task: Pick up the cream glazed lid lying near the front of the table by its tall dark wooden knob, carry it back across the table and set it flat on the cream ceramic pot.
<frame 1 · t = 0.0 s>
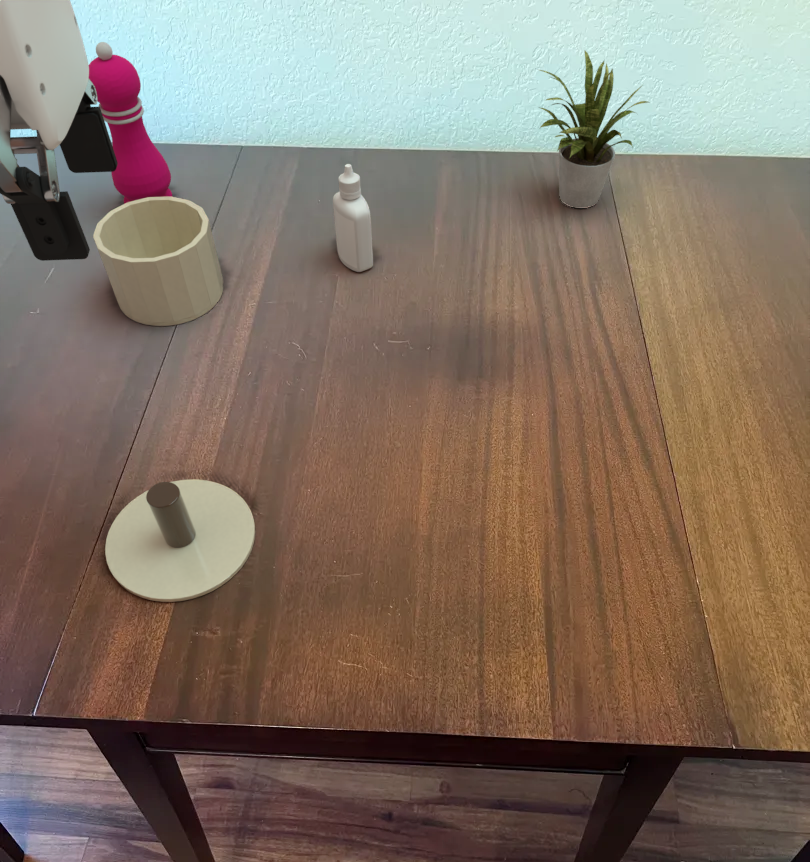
hand: (80, 211, 50), 30 cm above the table, tool pointing down, fingers open, 9 cm apart
pepper mill: (151, 210, 104), on the table
lid: (181, 539, 71), point 1 cm above the table
pot: (171, 292, 93), on the table
eye dropper bottle: (355, 261, 96), on the table
house plant: (571, 194, 104), on the table
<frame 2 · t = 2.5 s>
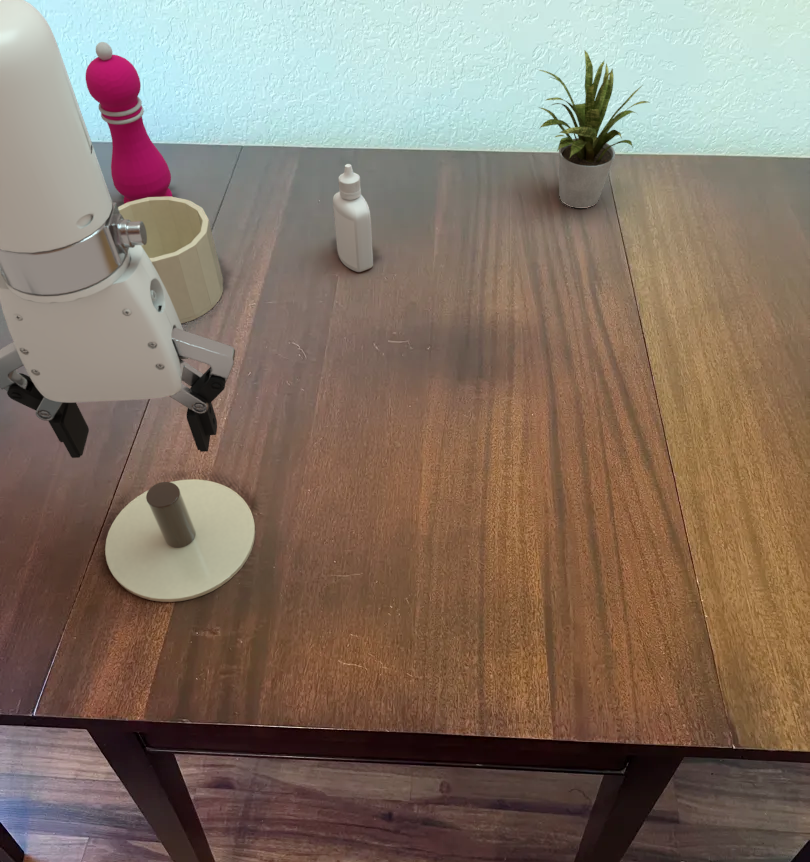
hand: (143, 441, 60), 14 cm above the table, tool pointing down, fingers open, 9 cm apart
nothing on the table moved.
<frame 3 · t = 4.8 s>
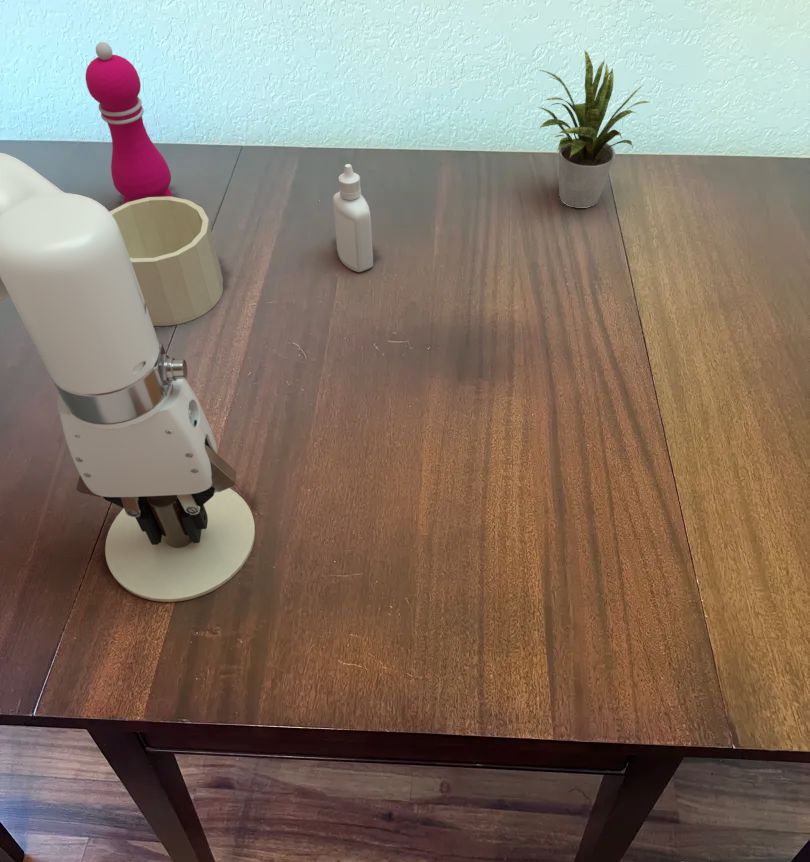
hand: (177, 529, 70), 2 cm above the table, tool pointing down, fingers closed on lid, 2 cm apart
lid: (181, 539, 71), point 1 cm above the table, touching gripper
everything else where it was.
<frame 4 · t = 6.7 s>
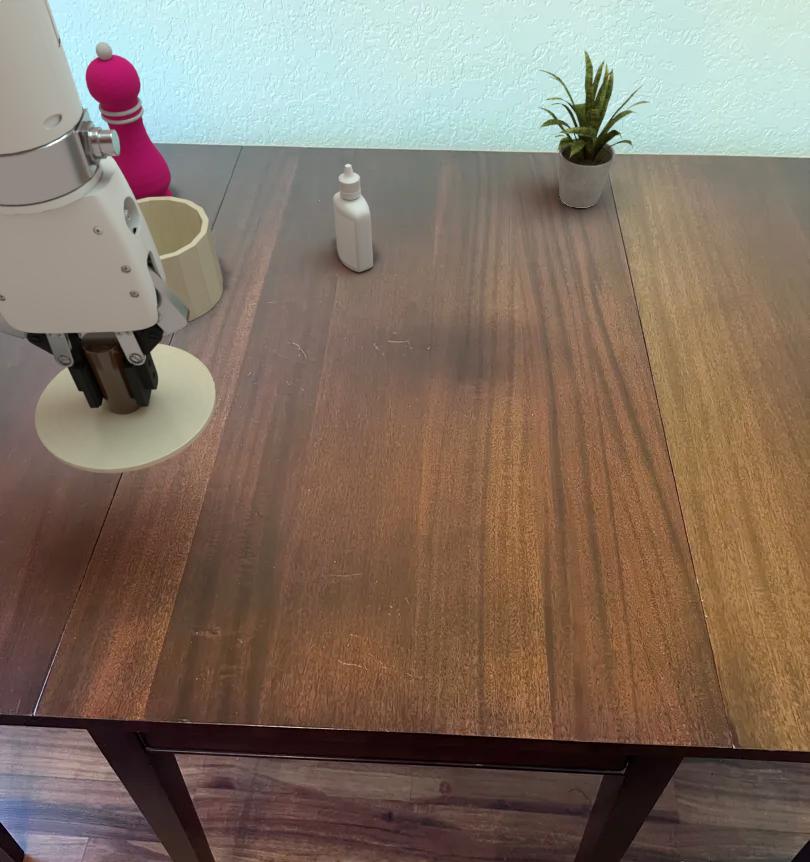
hand: (122, 392, 58), 17 cm above the table, tool pointing down, fingers closed on lid, 2 cm apart
lid: (128, 406, 59), point 16 cm above the table, touching gripper
everything else where it was.
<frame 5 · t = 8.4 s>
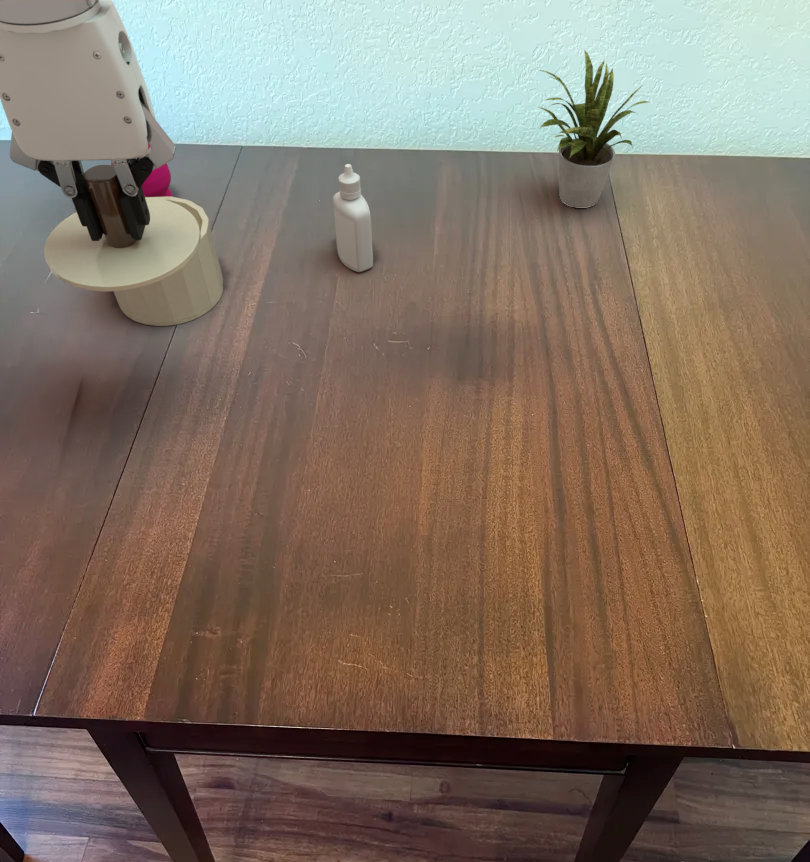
hand: (119, 229, 68), 19 cm above the table, tool pointing down, fingers closed on lid, 2 cm apart
lid: (124, 244, 69), point 18 cm above the table, touching gripper
everything else where it was.
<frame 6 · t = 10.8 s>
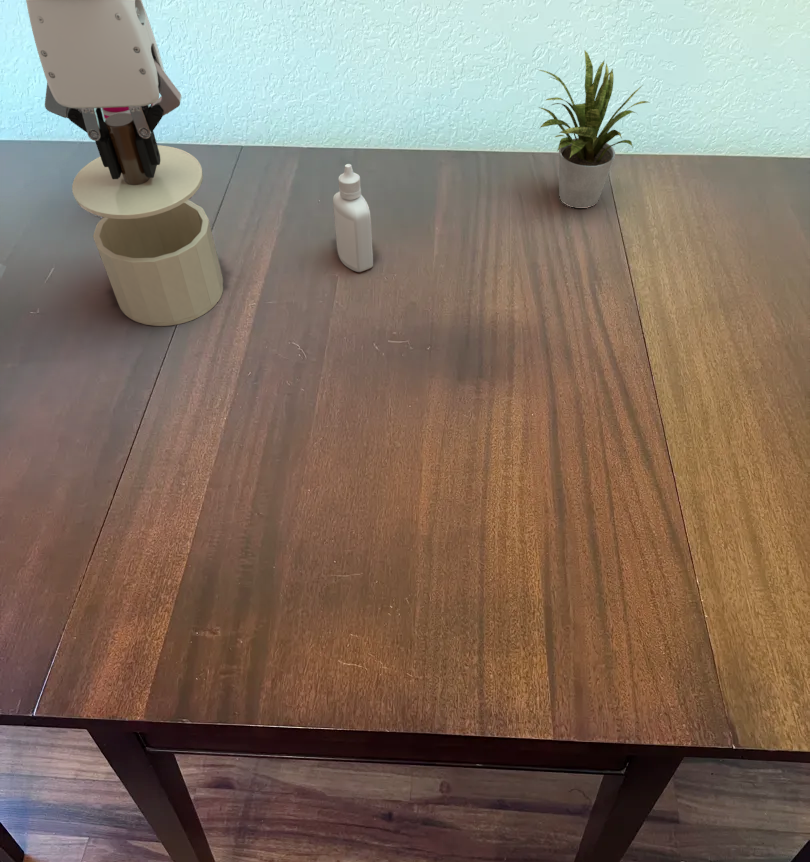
hand: (134, 170, 81), 15 cm above the table, tool pointing down, fingers closed on lid, 2 cm apart
lid: (138, 182, 82), point 14 cm above the table, touching gripper
everything else where it was.
when the fingers open (10 cm above the table, at t = 12.3 s): lid stays where it is, resting on pot.
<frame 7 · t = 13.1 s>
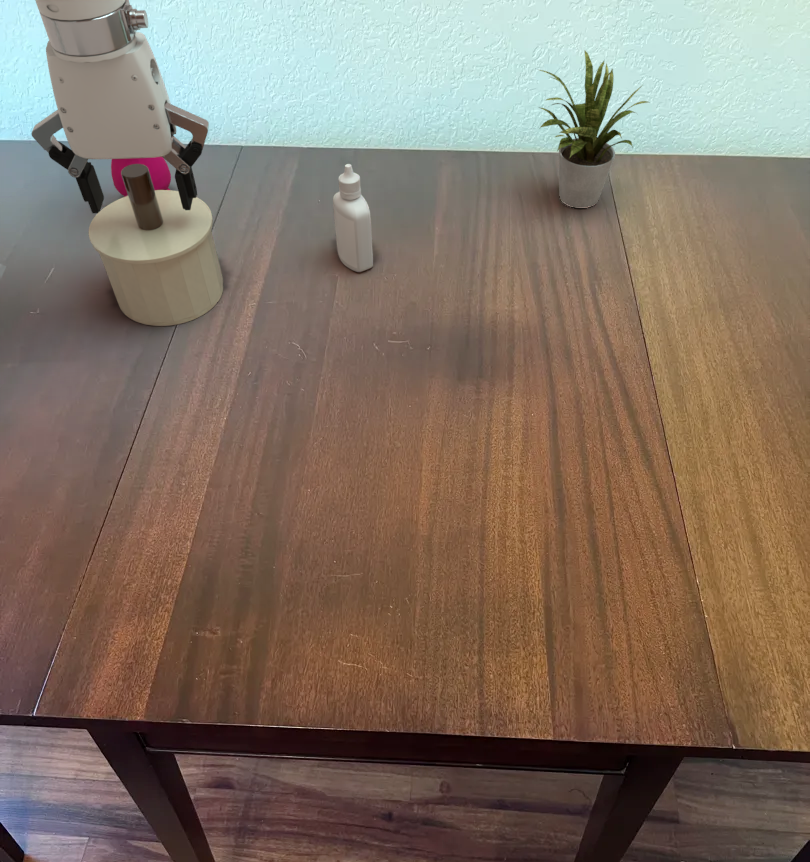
hand: (143, 204, 84), 11 cm above the table, tool pointing down, fingers open, 9 cm apart
lid: (151, 227, 86), point 8 cm above the table, touching pot
everything else where it was.
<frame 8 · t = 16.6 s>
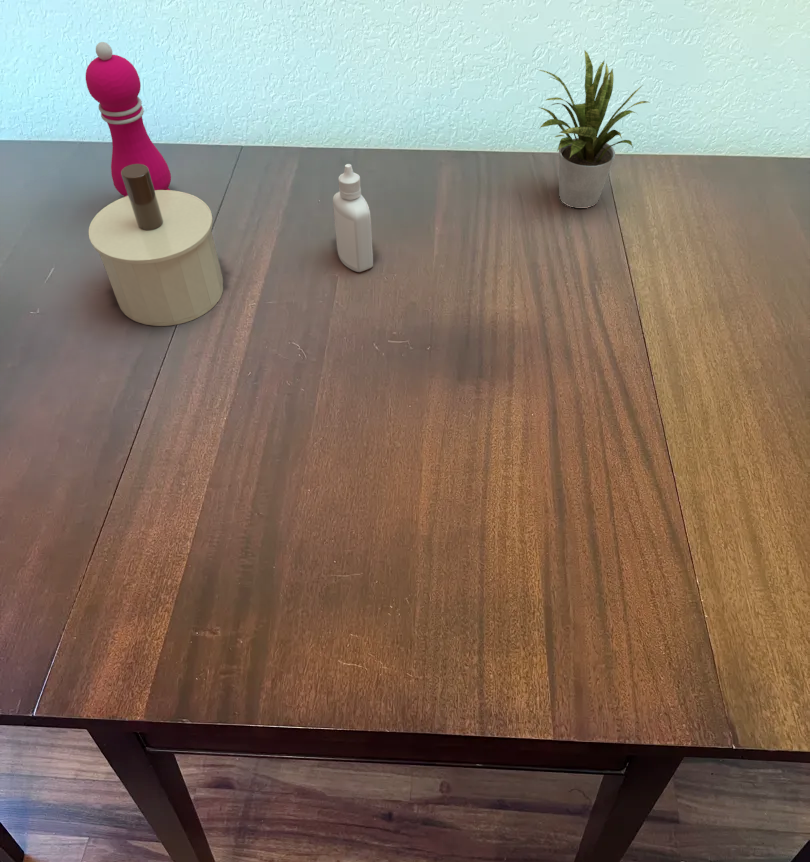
nothing on the table moved.
at the end: lid 0.1 cm off-centre on the pot, point 8.5 cm above the pot's base; lid tilted 0° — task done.
